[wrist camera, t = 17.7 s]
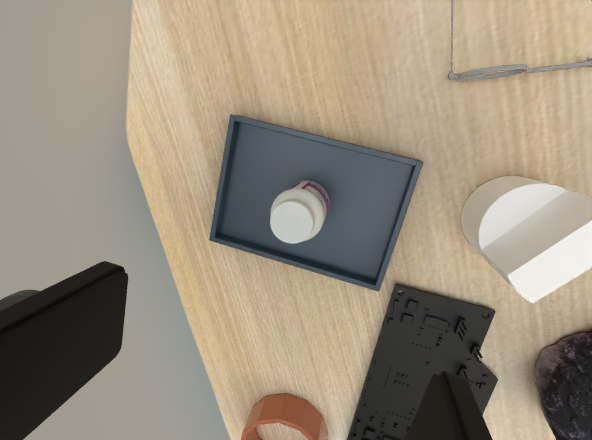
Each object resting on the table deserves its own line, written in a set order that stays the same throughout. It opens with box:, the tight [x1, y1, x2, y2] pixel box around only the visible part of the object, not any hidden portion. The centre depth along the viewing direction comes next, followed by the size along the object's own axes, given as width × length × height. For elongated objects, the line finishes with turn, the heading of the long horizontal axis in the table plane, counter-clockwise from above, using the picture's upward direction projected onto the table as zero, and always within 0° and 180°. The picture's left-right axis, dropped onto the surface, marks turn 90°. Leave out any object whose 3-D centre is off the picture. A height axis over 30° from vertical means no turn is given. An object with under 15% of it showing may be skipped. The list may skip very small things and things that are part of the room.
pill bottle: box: [270, 181, 329, 244], centre depth 34 cm, size 5×5×10 cm
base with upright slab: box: [461, 176, 592, 303], centre depth 30 cm, size 9×9×12 cm
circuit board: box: [347, 284, 498, 440], centre depth 41 cm, size 25×14×3 cm, turn 169°
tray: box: [209, 114, 423, 291], centre depth 38 cm, size 21×15×2 cm
